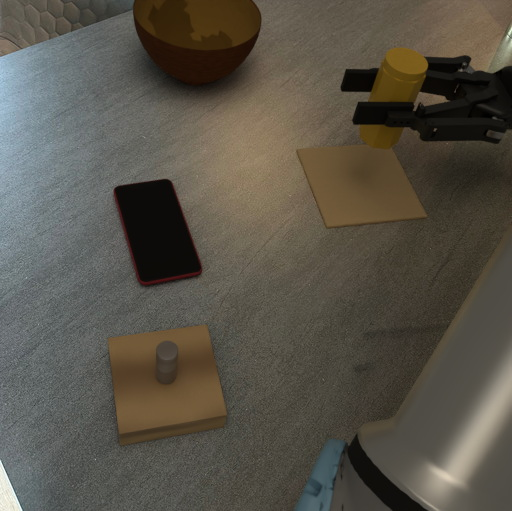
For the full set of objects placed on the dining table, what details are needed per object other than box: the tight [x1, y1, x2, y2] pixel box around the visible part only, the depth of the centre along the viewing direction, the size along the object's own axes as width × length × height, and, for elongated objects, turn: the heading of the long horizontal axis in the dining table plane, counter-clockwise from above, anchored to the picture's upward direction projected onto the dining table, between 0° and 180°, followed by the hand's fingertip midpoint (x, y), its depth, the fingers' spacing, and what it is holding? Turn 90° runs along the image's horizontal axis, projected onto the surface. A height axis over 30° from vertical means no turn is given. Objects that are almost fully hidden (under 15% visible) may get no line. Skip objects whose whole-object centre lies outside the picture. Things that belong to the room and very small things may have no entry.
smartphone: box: [112, 178, 203, 286], centre depth 74 cm, size 7×1×15 cm
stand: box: [107, 323, 228, 447], centre depth 59 cm, size 10×10×8 cm
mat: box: [295, 143, 428, 229], centre depth 84 cm, size 14×14×1 cm
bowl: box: [132, 0, 263, 86], centre depth 90 cm, size 18×18×10 cm
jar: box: [358, 46, 428, 149], centre depth 73 cm, size 5×5×11 cm
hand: (350, 96), depth 72 cm, fingers closed on jar, 5 cm apart
